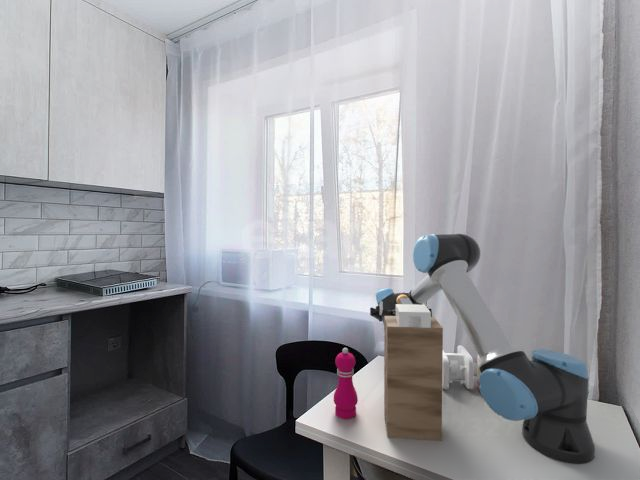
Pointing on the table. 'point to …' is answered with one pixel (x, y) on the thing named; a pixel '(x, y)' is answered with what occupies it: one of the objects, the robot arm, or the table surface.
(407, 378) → the walnut stand
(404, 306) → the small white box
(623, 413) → the table surface
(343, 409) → the pepper mill
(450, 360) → the cable organizer
